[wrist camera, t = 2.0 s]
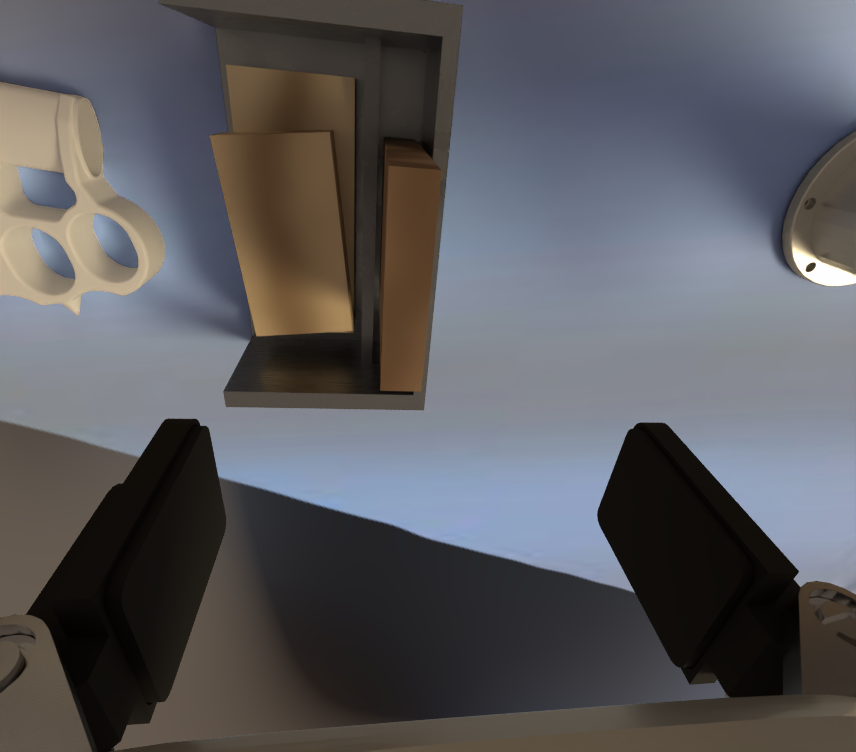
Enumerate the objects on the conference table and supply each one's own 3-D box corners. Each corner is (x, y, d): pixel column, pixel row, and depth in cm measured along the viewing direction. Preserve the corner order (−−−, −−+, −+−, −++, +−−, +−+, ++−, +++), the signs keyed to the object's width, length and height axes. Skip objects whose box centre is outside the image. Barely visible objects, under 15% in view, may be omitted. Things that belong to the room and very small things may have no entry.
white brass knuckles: (153, 108, 30) (174, 317, 37) (-187, 43, 26) (-91, 285, 34) (128, 109, 27) (156, 336, 34) (-256, 36, 24) (-135, 303, 31)
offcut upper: (333, 129, 27) (329, 132, 25) (354, 316, 34) (352, 330, 32) (222, 132, 27) (209, 135, 25) (264, 321, 33) (256, 336, 31)
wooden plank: (414, 139, 30) (441, 169, 18) (405, 285, 35) (421, 391, 23) (384, 136, 30) (388, 165, 17) (379, 284, 35) (380, 390, 22)
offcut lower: (356, 79, 28) (354, 77, 26) (355, 319, 37) (354, 333, 34) (237, 67, 28) (225, 64, 25) (263, 315, 36) (256, 329, 34)
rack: (439, 30, 28) (463, 5, 21) (414, 348, 40) (423, 410, 32) (218, 4, 27) (152, -34, 19) (257, 343, 38) (225, 406, 30)
